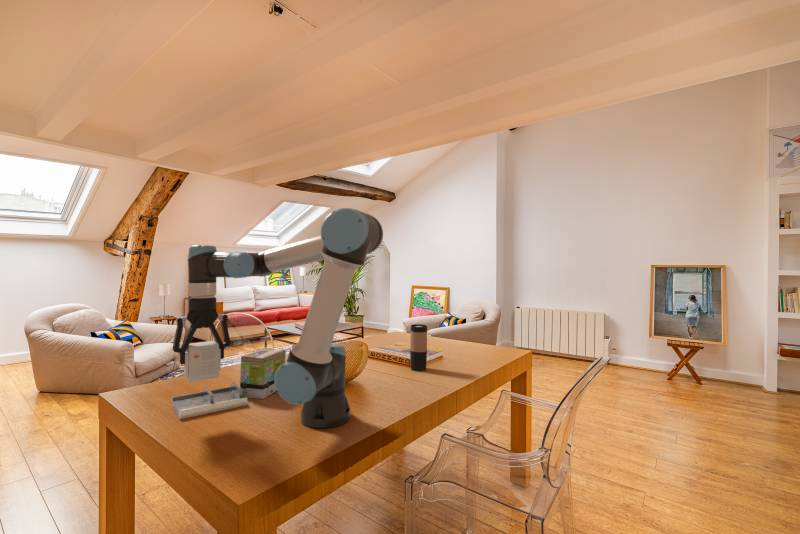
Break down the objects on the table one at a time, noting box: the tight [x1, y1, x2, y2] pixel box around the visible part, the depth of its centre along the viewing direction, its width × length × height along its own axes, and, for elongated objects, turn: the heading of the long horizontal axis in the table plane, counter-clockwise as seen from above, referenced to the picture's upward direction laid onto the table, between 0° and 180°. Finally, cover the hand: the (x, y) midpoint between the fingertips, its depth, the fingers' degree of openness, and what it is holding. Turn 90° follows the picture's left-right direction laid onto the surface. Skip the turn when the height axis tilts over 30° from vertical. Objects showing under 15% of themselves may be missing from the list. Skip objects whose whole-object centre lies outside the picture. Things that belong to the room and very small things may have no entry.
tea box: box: [239, 347, 286, 400], centre depth 143 cm, size 15×10×15 cm, turn 168°
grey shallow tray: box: [171, 381, 248, 420], centre depth 129 cm, size 14×20×5 cm
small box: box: [185, 340, 220, 384], centre depth 116 cm, size 8×6×10 cm
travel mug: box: [409, 323, 428, 372], centre depth 176 cm, size 8×8×20 cm
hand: (202, 372), depth 116 cm, fingers closed on small box, 8 cm apart
